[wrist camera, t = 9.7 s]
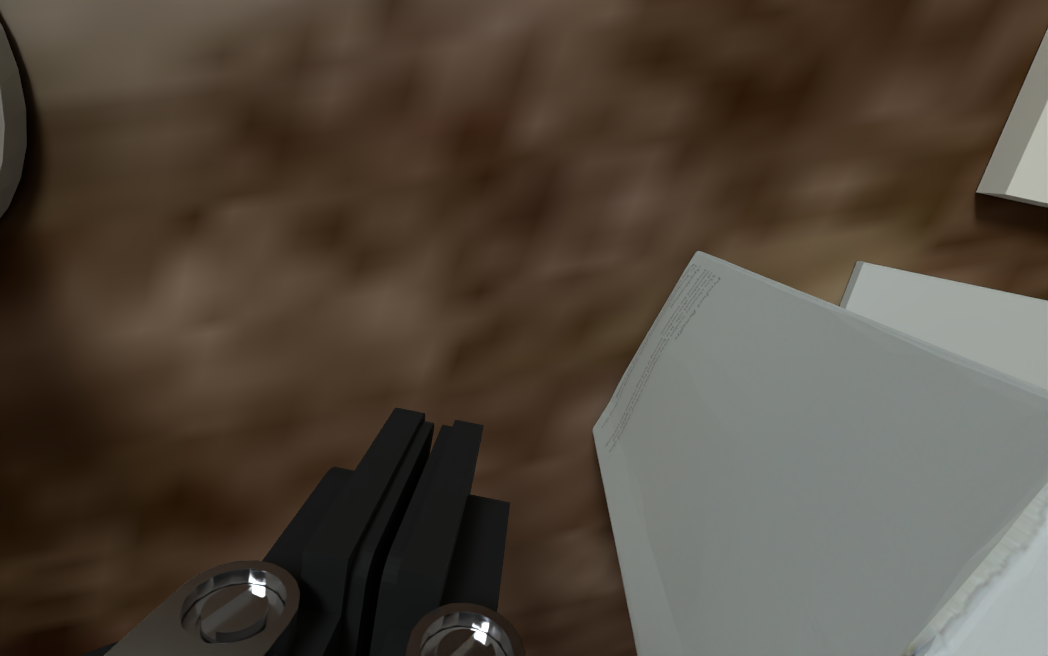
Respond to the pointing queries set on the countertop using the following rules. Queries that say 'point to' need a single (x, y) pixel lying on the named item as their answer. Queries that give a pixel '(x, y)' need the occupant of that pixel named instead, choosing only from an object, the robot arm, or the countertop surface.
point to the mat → (956, 318)
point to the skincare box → (821, 484)
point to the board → (1023, 142)
